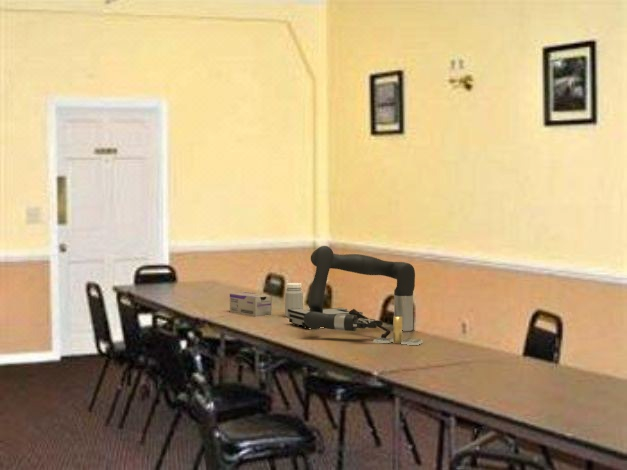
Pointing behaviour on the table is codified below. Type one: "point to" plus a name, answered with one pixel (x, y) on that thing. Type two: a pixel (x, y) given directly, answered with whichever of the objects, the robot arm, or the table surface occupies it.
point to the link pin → (397, 329)
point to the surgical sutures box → (250, 304)
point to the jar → (293, 297)
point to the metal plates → (406, 341)
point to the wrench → (354, 312)
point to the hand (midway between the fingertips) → (379, 324)
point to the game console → (298, 314)
